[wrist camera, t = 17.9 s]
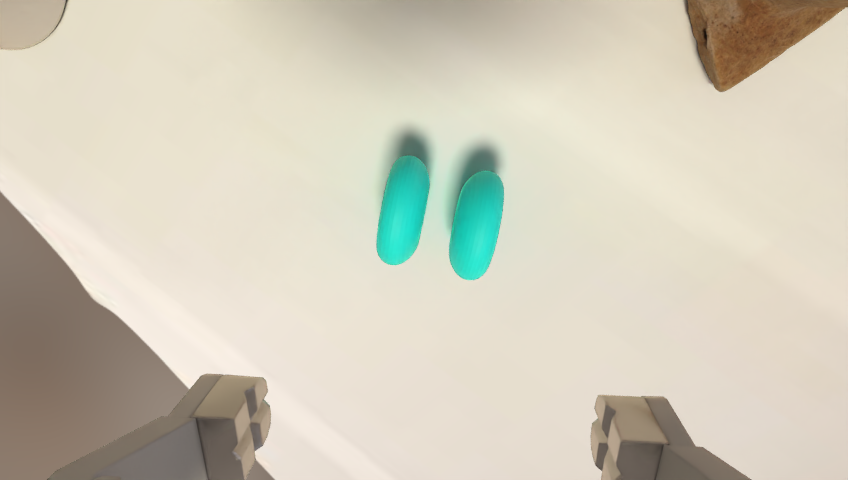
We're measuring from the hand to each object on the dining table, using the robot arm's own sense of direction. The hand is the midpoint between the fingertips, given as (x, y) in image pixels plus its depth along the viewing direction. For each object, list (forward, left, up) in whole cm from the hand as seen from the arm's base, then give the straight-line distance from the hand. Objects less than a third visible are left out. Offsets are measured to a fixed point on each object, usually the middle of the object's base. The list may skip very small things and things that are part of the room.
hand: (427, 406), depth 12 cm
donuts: (+3, -5, -37) cm, 38 cm away
